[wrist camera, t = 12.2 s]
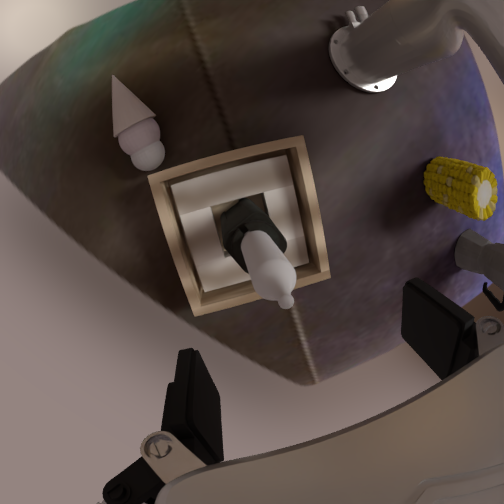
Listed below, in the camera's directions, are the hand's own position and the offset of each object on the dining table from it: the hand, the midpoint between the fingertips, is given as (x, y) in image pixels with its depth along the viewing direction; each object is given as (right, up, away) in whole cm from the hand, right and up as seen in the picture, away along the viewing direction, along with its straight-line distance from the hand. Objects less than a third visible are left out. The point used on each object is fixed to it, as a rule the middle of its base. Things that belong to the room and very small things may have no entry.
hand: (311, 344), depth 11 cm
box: (-4, +8, +28) cm, 30 cm away
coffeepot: (+44, +3, +36) cm, 57 cm away
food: (+31, +17, +30) cm, 47 cm away
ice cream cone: (-18, +22, +22) cm, 36 cm away
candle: (-4, +8, +28) cm, 29 cm away
